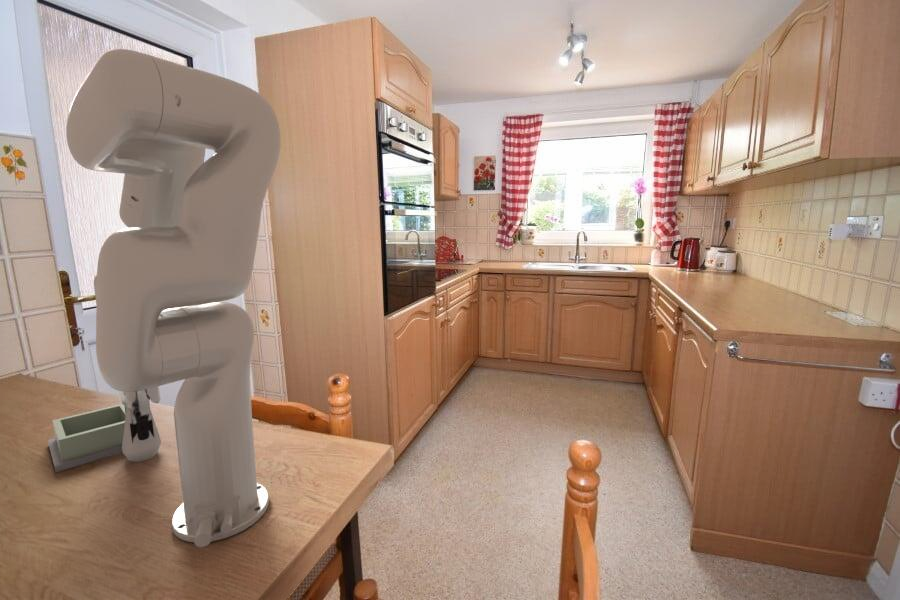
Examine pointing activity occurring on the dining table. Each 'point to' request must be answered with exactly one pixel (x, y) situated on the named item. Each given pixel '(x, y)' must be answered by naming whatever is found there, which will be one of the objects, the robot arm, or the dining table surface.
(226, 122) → the robot arm
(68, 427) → the socket plate
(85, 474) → the dining table surface
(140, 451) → the salt shaker
